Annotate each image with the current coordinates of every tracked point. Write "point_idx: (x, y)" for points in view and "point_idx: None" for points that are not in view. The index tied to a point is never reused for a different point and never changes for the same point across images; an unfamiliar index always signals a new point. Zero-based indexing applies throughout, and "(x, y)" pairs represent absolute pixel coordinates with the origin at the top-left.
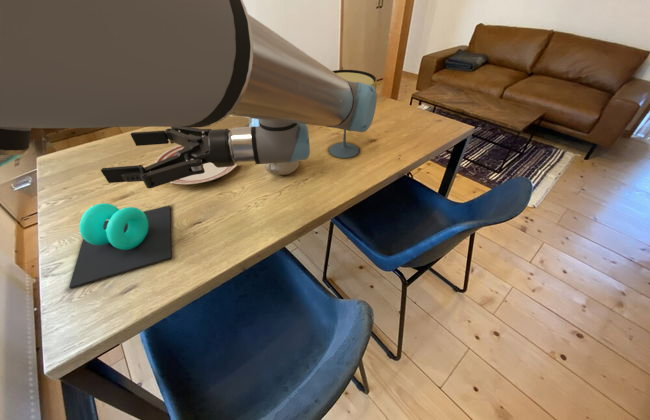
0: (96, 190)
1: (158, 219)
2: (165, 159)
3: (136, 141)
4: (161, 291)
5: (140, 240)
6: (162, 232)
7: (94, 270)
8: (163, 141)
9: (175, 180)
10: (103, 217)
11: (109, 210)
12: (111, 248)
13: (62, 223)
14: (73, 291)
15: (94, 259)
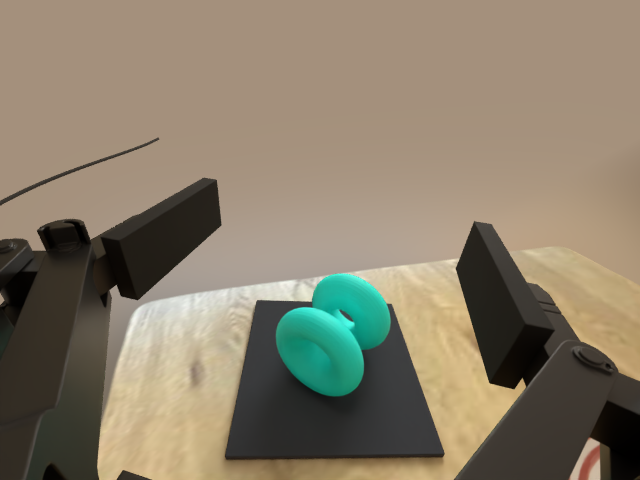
0: None
1: (384, 422)
2: (66, 329)
3: (464, 257)
4: (137, 434)
5: (304, 382)
6: (329, 434)
7: (273, 322)
8: (489, 353)
9: (571, 474)
10: (342, 303)
11: (360, 309)
12: None
13: (406, 280)
14: (249, 306)
15: None
